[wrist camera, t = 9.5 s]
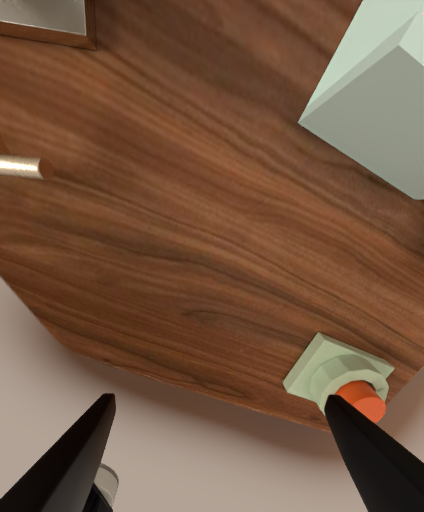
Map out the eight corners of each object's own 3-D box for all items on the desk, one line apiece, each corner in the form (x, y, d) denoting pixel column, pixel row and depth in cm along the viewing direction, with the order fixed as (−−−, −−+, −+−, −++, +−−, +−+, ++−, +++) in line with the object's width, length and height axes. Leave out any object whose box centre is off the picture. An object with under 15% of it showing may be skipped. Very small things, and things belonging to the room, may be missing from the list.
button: (325, 401, 19) (338, 421, 17) (347, 374, 18) (363, 392, 16) (354, 411, 19) (369, 431, 18) (377, 385, 19) (394, 404, 17)
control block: (282, 382, 21) (295, 410, 18) (318, 331, 20) (338, 354, 17) (346, 404, 23) (367, 433, 20) (384, 359, 21) (413, 384, 18)
